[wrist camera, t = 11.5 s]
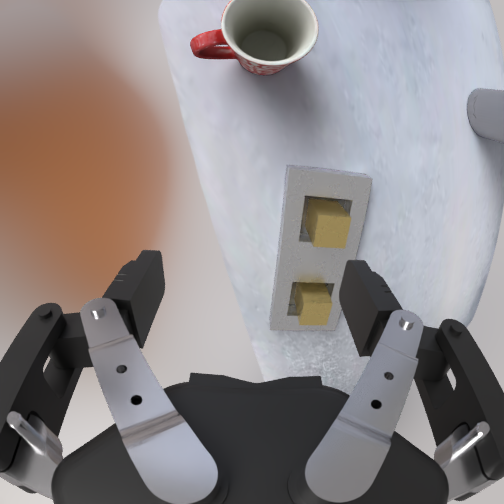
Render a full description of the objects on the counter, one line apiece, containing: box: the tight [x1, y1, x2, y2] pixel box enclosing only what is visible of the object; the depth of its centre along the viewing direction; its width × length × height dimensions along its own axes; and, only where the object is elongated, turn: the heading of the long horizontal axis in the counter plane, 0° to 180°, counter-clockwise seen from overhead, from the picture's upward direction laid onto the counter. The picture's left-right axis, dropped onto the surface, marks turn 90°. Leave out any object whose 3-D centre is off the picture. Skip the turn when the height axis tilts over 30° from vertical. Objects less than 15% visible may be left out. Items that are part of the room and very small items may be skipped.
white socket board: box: [270, 165, 372, 331], centre depth 45 cm, size 28×12×3 cm, turn 177°
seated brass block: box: [305, 198, 351, 249], centre depth 40 cm, size 4×4×7 cm
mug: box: [190, 0, 318, 75], centre depth 26 cm, size 13×9×14 cm
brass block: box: [294, 282, 333, 325], centre depth 46 cm, size 4×4×7 cm
